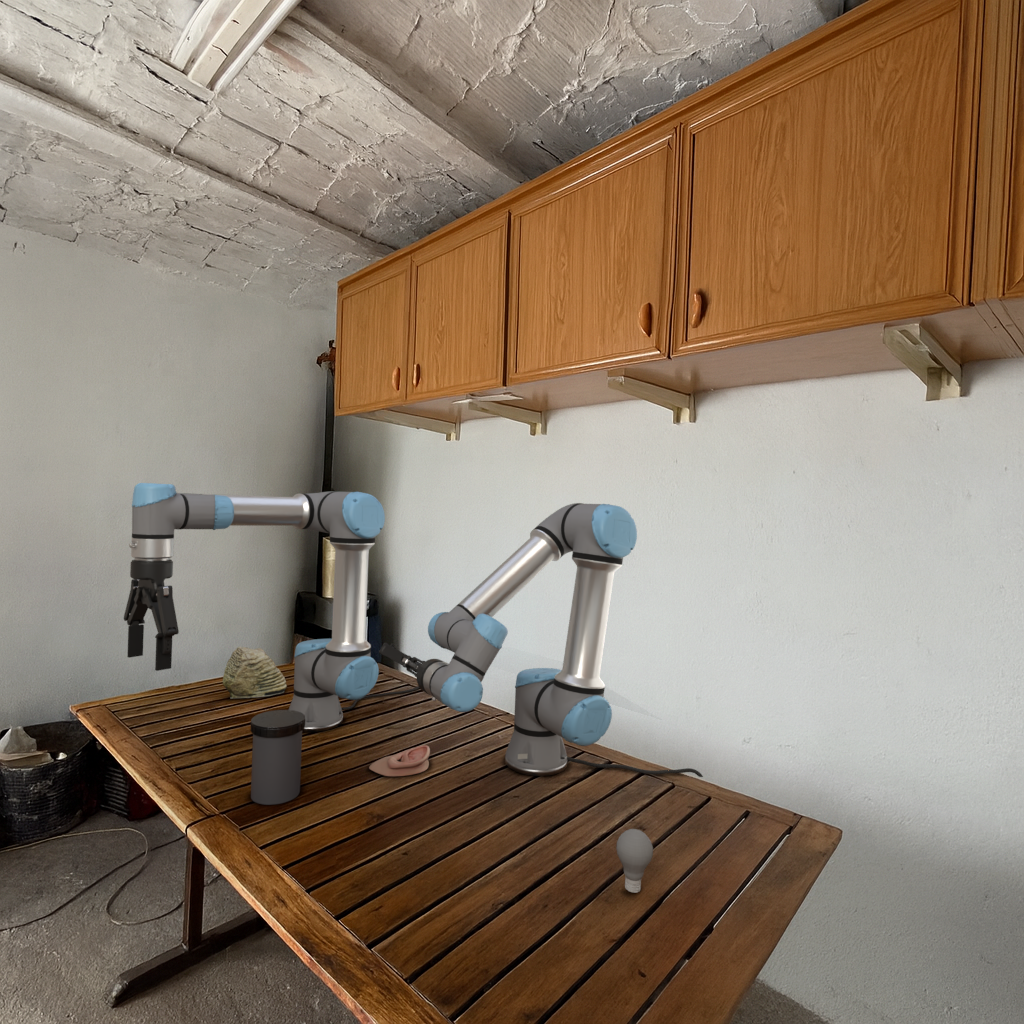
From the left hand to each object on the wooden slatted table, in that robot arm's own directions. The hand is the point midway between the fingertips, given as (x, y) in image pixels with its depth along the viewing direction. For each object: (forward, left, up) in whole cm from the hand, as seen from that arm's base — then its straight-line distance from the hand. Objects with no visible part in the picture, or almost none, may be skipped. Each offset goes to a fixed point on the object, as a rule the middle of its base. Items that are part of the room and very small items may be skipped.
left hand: (148, 662), depth 129 cm
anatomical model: (-46, +26, -28) cm, 60 cm away
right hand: (-50, +23, -4) cm, 55 cm away
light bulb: (-41, +90, -28) cm, 103 cm away
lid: (-19, +17, -12) cm, 28 cm away
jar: (-19, +17, -28) cm, 38 cm away
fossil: (-50, -47, -28) cm, 74 cm away
